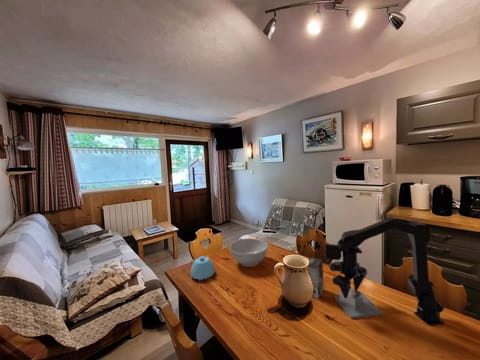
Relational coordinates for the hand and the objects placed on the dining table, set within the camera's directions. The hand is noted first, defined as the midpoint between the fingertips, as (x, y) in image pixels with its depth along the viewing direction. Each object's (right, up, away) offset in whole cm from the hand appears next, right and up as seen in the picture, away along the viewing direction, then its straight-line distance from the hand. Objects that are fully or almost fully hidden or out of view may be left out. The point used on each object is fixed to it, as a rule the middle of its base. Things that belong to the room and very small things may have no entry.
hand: (350, 293), depth 90 cm
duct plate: (+3, -5, -1) cm, 6 cm away
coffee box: (-12, -6, +11) cm, 18 cm away
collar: (0, -4, 0) cm, 4 cm away
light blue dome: (-74, -9, +35) cm, 83 cm away
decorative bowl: (-44, -6, +47) cm, 64 cm away
